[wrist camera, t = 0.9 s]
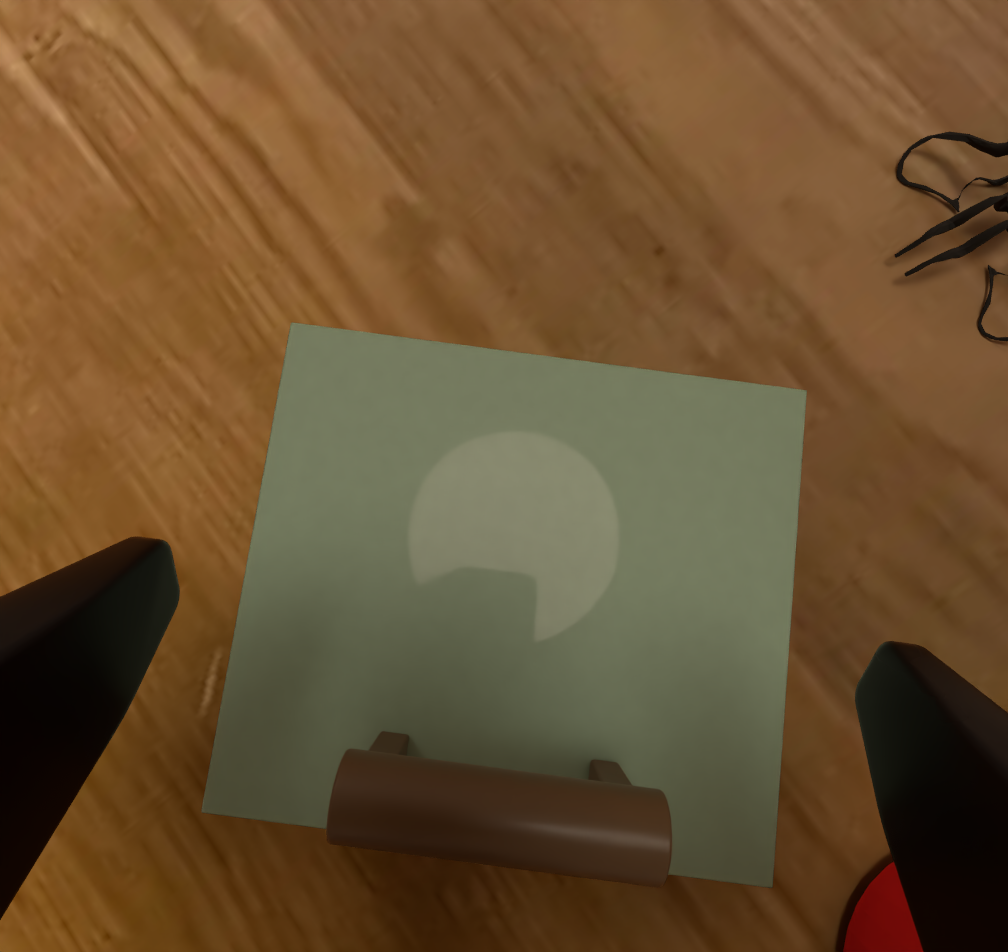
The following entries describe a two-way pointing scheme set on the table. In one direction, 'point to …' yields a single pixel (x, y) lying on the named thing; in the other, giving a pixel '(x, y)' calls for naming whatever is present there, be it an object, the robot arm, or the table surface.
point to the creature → (1000, 204)
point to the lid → (516, 612)
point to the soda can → (882, 918)
